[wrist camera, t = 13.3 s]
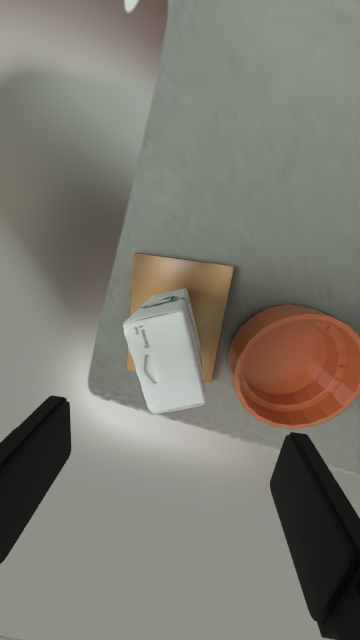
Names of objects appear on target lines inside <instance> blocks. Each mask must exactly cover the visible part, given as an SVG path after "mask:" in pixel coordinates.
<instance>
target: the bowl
mask: <svg viewBox="0 0 360 640" xmlns="http://www.w3.org/2000/svg"><path fill="white" fill-rule="evenodd" d="M227 360H228V367H229V373H230V377H231V380H232V383H233V386H234V389H235V392H236V394H237V396H238V398H239V400H240V402H241V403H242V405H243V407H244V408H245V409H246V410H247V411H248V412H249V413H250V414H251V415H252V416H254V417H255V418H256V419H257V420H259V421H262V422H264V423H266V424H269V425H271V426H273V427H280V428H287V429H298V428H307V427H313V426H315V425H318V424H321V423H324V422H326V421H329V420H331V419H333V418H334V417H336V416H337V415H339V414H340V413H342V412H343V411H345V410H346V409H347V408H348V407H349V406H350V405H351V404H352V402H353V401H354V400H355V399H356V398H357V397H358V395H359V394H360V337H359V336H358V335H357V333H356V332H355V331H354V330H353V329H352V328H351V327H350V326H349V325H347V324H345V323H343V322H341V321H339V320H337V319H335V318H333V317H331V316H329V315H326V314H324V313H322V312H319V311H317V310H315V309H313V308H310V307H308V306H300V305H293V304H287V305H281V306H275V307H270V308H268V309H266V310H264V311H262V312H260V313H258V314H255V315H254V316H252V317H251V318H250V319H249V320H248V321H247V322H245V323H244V324H243V325H242V326H241V327H240V328H239V330H238V331H237V333H236V335H235V336H234V338H233V340H232V341H231V344H230V348H229V353H228V358H227Z"/></svg>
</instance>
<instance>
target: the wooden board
mask: <svg viewBox="0 0 360 640" xmlns="http://www.w3.org/2000/svg"><path fill="white" fill-rule="evenodd" d="M233 270H234V266H228V265H220V264H213V263H206V262H198V261H191V260H184V259H176V258H169V257H162V256H154V255H147V254H139V253H135V255H134V270H133V286H132V301H131V316H132V315H133V314H134V313H135V312H136V311H137V310H138V309H139V308H140V307H141V306H142V305H143V304H144V303H145V302H147V301H148V300H149V299H150V298H151V297H152V296H154V295H157V294H161V293H165V292H169V291H174V290H178V289H185V288H186V289H187V290H188V294H189V298H190V302H191V306H192V310H193V315H194V319H195V323H196V327H197V331H198V336H199V340H200V344H201V354H202V369H203V381H205V382H211V381H212V376H213V371H214V366H215V361H216V356H217V351H218V346H219V341H220V336H221V331H222V325H223V320H224V315H225V310H226V305H227V300H228V295H229V290H230V285H231V280H232V275H233ZM127 371H133V372H136V369H135V364H134V361H133V358H132V356H131V353H130V350H129V348H128V363H127Z"/></svg>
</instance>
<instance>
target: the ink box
mask: <svg viewBox="0 0 360 640" xmlns="http://www.w3.org/2000/svg"><path fill="white" fill-rule="evenodd" d="M123 327H124V335H125V337H126V340H127V342H128V347H129V350H130V353H131V356H132V358H133V361H134V364H135V369H136V372H137V375H138V377H139V379H140V383H141V386H142V390H143V394H144V397H145V399H146V402H147V406H148V409H149V410H150V411H151V412H152V413H153V414H159V413H164V412H170V411H176V410H181V409H187V408H192V407H196V406H200V405H203V404H205V403H206V402H205V393H204V382H203V369H202V354H201V344H200V340H199V336H198V331H197V327H196V323H195V319H194V315H193V310H192V306H191V302H190V298H189V294H188V290H187V289H186V288H185V289H178V290H174V291H169V292H165V293H161V294H157V295H154V296H152V297H151V298H150V299H149V300H148V301H147V302H145V303H144V304H143V305H142V306H141V307H140V308H139V309H138V310H137V311H136V312H135V313H134V314H133V315H132V316H131V317H130V318H128V319H127V320H126V321H125V322H124V325H123Z"/></svg>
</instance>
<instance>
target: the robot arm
mask: <svg viewBox="0 0 360 640" xmlns="http://www.w3.org/2000/svg"><path fill="white" fill-rule="evenodd" d="M70 452H71V431H70V404H69V402H67V401H66V398H64V397H58V396H50V397H49V398H47V399H46V401H44V402H43V403H42V404H41V405H40V406H39V407H38V408H37V409H36V410H35V411H34V412H33V413H32V414H31V415H30V416H29V417H28V418H27V419H26V420H25V421H24V422H23V423H22V424H21V425H20V426H19V427H17V428H16V429H14V430H13V431H12V432H11V433H10V434H9V435H8V436H7V437H6V438H5V439H4V440H3V441H2V442H1V443H0V564H1V563H2V562H3V561H4V560H5V558H6V557H7V555H8V554H9V552H10V551H11V549H12V548H13V546H14V544H15V543H16V541H17V539H18V538H19V536H20V535H21V533H22V532H23V530H24V528H25V527H26V525H27V523H28V522H29V520H30V519H31V517H32V515H33V514H34V512H35V511H36V509H37V508H38V506H39V504H40V503H41V501H42V499H43V498H44V496H45V495H46V493H47V491H48V490H49V488H50V487H51V485H52V483H53V482H54V480H55V478H56V477H57V475H58V474H59V472H60V471H61V469H62V467H63V466H64V464H65V463H66V461H67V459H68V458H69V455H70ZM270 489H271V493H272V496H273V499H274V503H275V506H276V508H277V512H278V515H279V518H280V521H281V524H282V528H283V531H284V534H285V537H286V540H287V544H288V546H289V550H290V553H291V556H292V559H293V563H294V566H295V569H296V572H297V575H298V578H299V581H300V585H301V588H302V591H303V594H304V597H305V600H306V604H307V607H308V610H309V612H310V615H311V617H312V618H313V619H314V620H315V621H317V623H318V626H319V629H320V633H321V635H322V637H323V638H329V639H335V640H360V518H359V517H358V515H357V513H356V512H355V510H354V509H353V507H352V505H351V504H350V502H349V500H348V499H347V497H346V496H345V494H344V492H343V491H342V489H341V488H340V486H339V484H338V483H337V481H336V480H335V478H334V477H333V475H332V473H331V472H330V470H329V469H328V467H327V465H326V464H325V462H324V461H323V459H322V457H321V456H320V454H319V452H318V451H317V449H316V448H315V446H314V444H313V443H312V441H311V440H310V438H309V437H308V435H306V434H300V433H294V432H291V433H290V435H287V436H286V437H285V440H284V443H283V445H282V448H281V451H280V454H279V457H278V460H277V463H276V466H275V469H274V472H273V475H272V478H271V481H270ZM0 640H19V639H14V638H9V637H3V636H0Z"/></svg>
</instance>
